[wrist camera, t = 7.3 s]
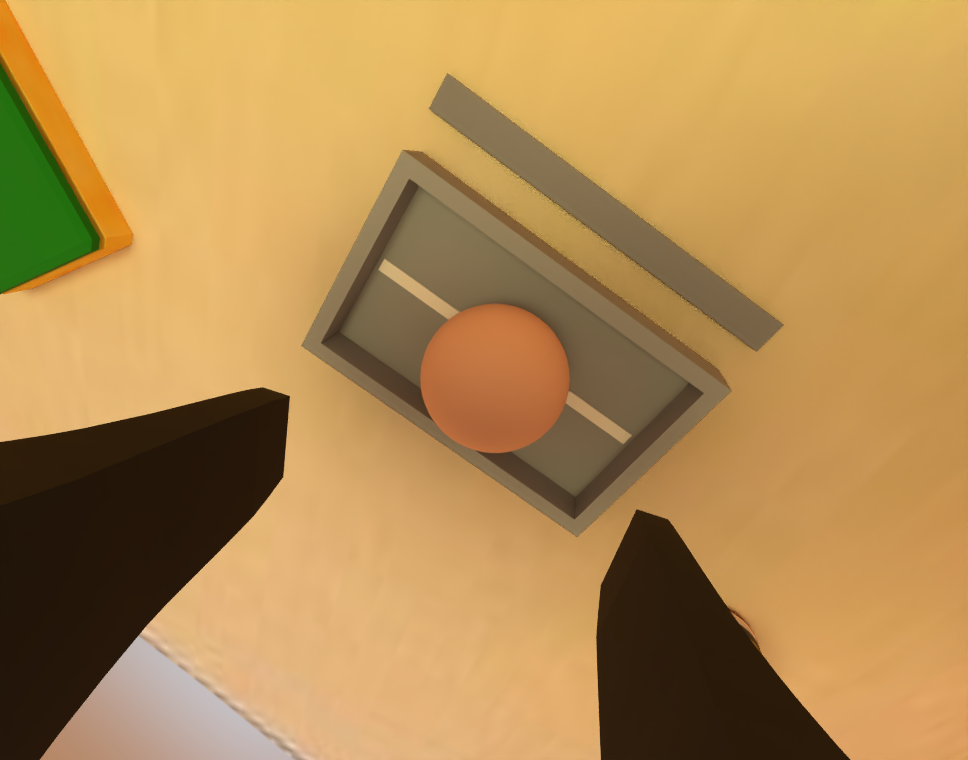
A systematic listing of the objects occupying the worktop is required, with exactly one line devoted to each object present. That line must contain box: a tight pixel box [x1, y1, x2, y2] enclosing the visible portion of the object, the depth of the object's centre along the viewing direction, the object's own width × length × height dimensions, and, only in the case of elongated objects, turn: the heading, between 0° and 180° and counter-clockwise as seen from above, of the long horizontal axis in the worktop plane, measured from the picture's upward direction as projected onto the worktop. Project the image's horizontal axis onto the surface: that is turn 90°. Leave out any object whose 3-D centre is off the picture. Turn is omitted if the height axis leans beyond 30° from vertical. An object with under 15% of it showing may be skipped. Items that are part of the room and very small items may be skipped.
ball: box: [420, 303, 570, 453], centre depth 17 cm, size 5×5×5 cm
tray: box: [302, 150, 731, 537], centre depth 19 cm, size 13×8×2 cm, turn 56°
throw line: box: [429, 73, 784, 352], centre depth 17 cm, size 14×1×1 cm, turn 56°
